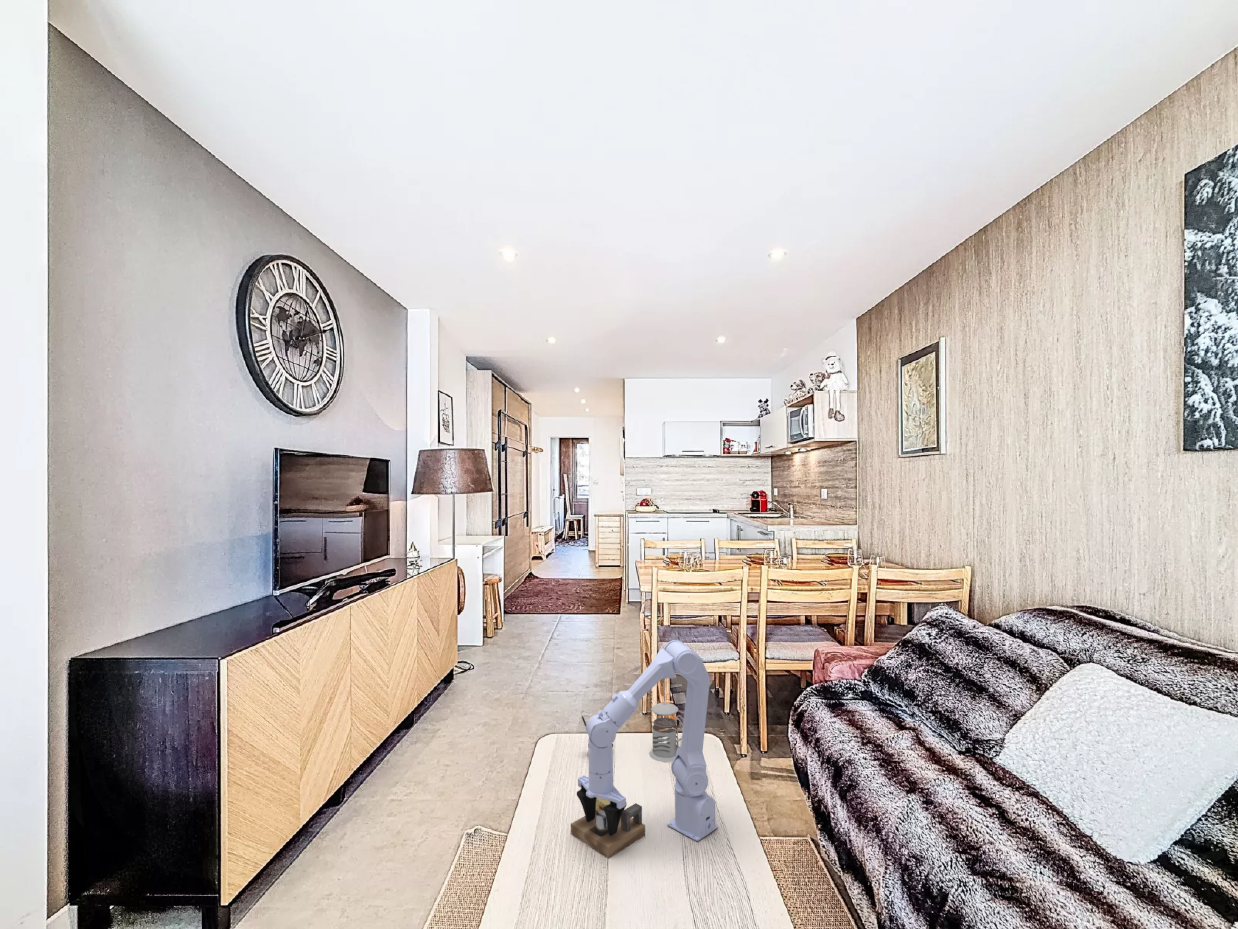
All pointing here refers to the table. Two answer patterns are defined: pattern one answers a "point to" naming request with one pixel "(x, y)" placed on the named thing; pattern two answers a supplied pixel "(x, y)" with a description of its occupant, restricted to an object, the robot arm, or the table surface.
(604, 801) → the lock pin
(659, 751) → the french press
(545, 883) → the table surface
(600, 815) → the cylinder
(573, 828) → the dock
